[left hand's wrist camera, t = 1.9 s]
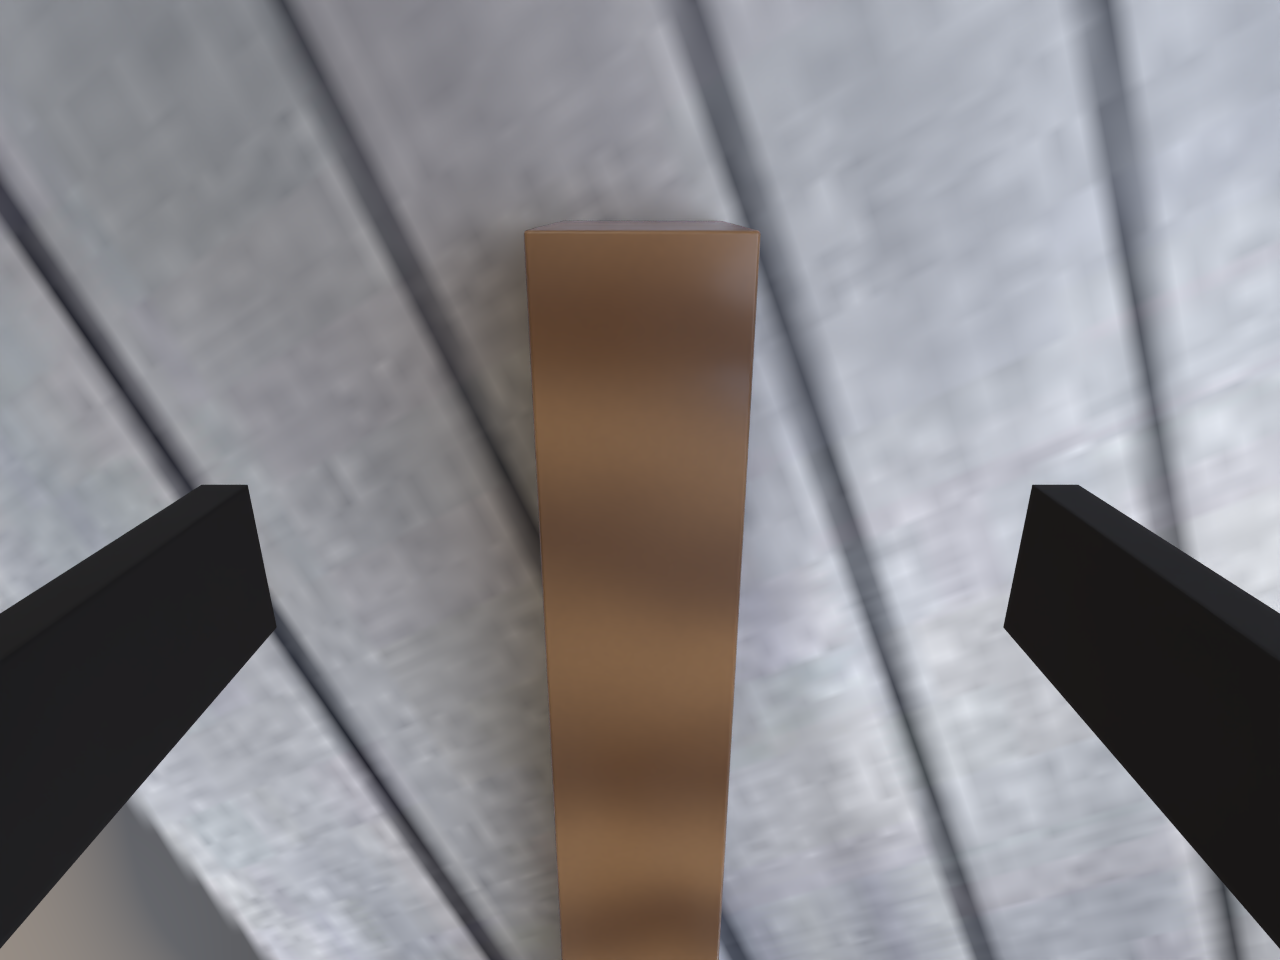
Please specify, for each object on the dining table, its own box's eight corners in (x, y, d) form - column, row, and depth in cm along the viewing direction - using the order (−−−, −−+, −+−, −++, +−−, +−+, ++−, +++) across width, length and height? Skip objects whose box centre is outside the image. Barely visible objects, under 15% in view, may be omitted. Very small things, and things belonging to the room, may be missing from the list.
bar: (560, 220, 22) (522, 229, 15) (724, 220, 22) (761, 230, 15) (595, 1211, 41) (585, 1414, 34) (684, 1212, 41) (692, 1415, 34)
